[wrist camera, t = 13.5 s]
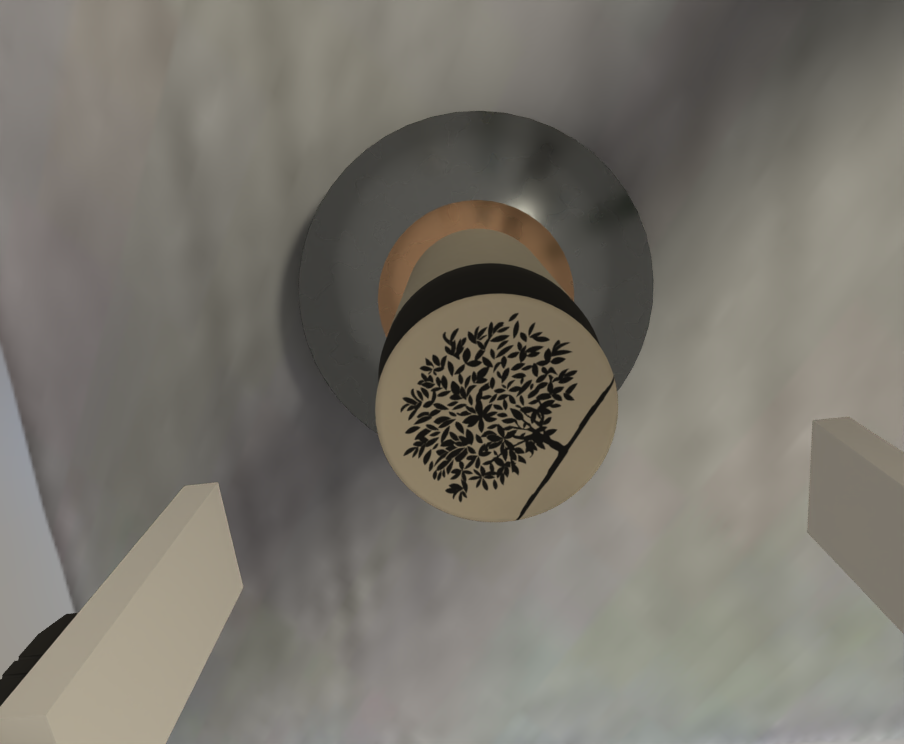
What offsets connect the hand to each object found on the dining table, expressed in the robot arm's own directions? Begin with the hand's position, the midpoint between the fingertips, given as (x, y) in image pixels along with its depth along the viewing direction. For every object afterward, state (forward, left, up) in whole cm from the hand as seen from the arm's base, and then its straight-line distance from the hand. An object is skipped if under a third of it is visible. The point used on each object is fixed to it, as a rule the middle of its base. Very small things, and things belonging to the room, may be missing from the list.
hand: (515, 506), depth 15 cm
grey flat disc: (0, 0, -26) cm, 26 cm away
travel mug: (0, 0, -24) cm, 24 cm away
